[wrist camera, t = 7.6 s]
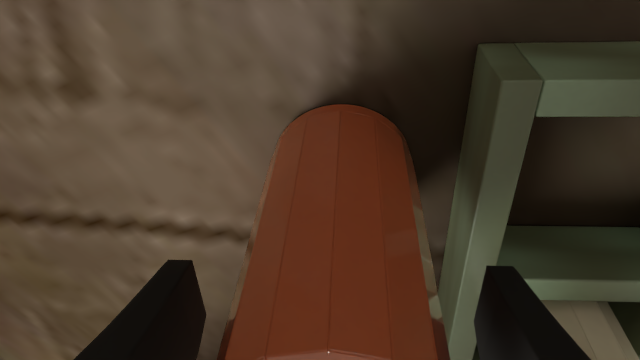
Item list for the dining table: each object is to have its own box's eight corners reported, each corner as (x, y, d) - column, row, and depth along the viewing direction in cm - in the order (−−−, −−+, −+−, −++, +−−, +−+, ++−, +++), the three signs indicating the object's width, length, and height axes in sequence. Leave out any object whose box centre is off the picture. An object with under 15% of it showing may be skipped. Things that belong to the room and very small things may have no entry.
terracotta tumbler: (280, 218, 18) (226, 479, 10) (267, 102, 15) (183, 346, 8) (405, 219, 17) (442, 490, 10) (416, 101, 15) (478, 355, 7)
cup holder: (427, 351, 22) (435, 407, 20) (477, 42, 13) (501, 80, 11) (601, 357, 21) (630, 415, 19) (766, 38, 13) (851, 78, 11)
